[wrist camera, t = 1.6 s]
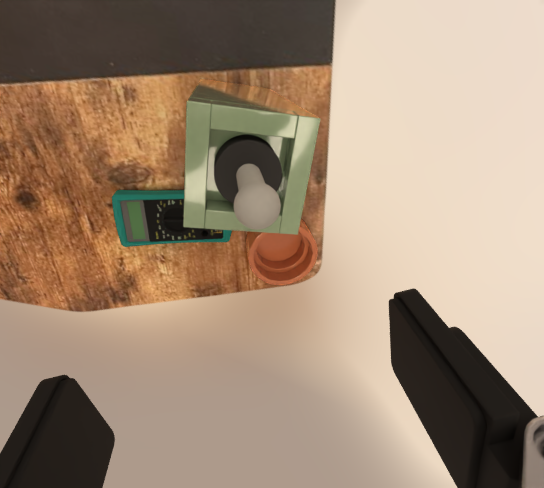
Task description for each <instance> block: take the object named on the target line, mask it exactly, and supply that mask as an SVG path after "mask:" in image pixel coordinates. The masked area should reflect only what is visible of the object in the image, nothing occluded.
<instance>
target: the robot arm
mask: <svg viewBox="0 0 544 488" xmlns="http://www.w3.org/2000/svg"><path fill="white" fill-rule="evenodd" d="M389 317H390V318H389V319H390V342H391V343H390V344H391V363H392V367H393V370H394V373H395V375H396V377H397V378H398V380H399V382H400V384H401V386H402V387H403V389H404V391H405V393H406V395H407V397H408V398H409V400H410V402H411V404H412V405H413V408H414V409H415V411H416V413H417V414H418V417H419V418H420V420H421V422H422V424H423V426H424V428H425V429H426V431H427V433H428V435H429V436H430V438H431V440H432V442H433V444H434V446H435V448H436V449H437V451H438V453H439V455H440V456H441V459H442V460H443V462H444V464H445V466H446V468H447V469H448V471H449V473H450V475H451V477H452V478H453V480H454V482H455V484H456V486H457V487H458V488H544V416H540V417H538V416H537V415H536V414H535V413H534V412H533V411H532V410H531V409H530V407H529V406H528V405H527V404H526V403H525V402H524V400H523V399H522V398H521V397H520V396H519V395H518V394H517V392H515V390H514V389H513V388H512V387H511V386H510V385H509V384H508V382H507V381H506V380H505V379H504V378H503V377H502V376H501V374H500V373H499V372H498V371H497V370H496V369H495V368H494V366H493V365H492V364H491V363H490V362H489V361H488V360H487V358H486V357H485V356H484V355H483V354H482V353H481V352H480V350H479V349H478V348H477V347H476V346H475V345H474V344H473V343H472V341H471V340H470V339H469V338H468V337H467V336H466V335H465V333H464V332H462V330H460V329H459V328H457V327H451V328H448V326H447V325H446V324H445V323H444V322H443V321H442V319H441V318H440V317H439V316H438V314H437V313H436V312H435V311H434V310H433V309H432V307H431V306H430V305H429V304H428V303H427V302H426V300H425V299H424V298H423V297H422V295H421V294H420V293H419V292H418V291H417V290H416V289H410V290H406V291H402V292H398V293H395V294H394V299H390V300H389ZM114 441H115V438H114V433H113V431H112V429H111V428H110V427H109V425H108V424H107V423H106V421H105V420H104V418H103V417H102V416H101V414H100V413H99V412H98V410H97V409H96V407H95V406H94V405H93V403H92V402H91V401H90V399H89V398H88V396H87V395H86V394H85V392H84V391H83V390H82V388H81V387H80V385H79V384H78V383H77V381H76V380H75V379H73V378H69V377H68V376H67V375H61V376H57V377H53V378H49V379H45V380H43V381H41V382H40V384H39V385H38V386H37V388H36V390H35V392H34V394H33V396H32V397H31V399H30V401H29V403H28V405H27V406H26V408H25V410H24V412H23V414H22V415H21V417H20V419H19V421H18V423H17V424H16V426H15V428H14V430H13V432H12V433H11V435H10V437H9V439H8V441H7V442H6V444H5V446H4V448H3V450H2V451H1V453H0V488H102V487H103V483H104V480H105V476H106V472H107V469H108V465H109V462H110V458H111V454H112V450H113V447H114Z"/></svg>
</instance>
